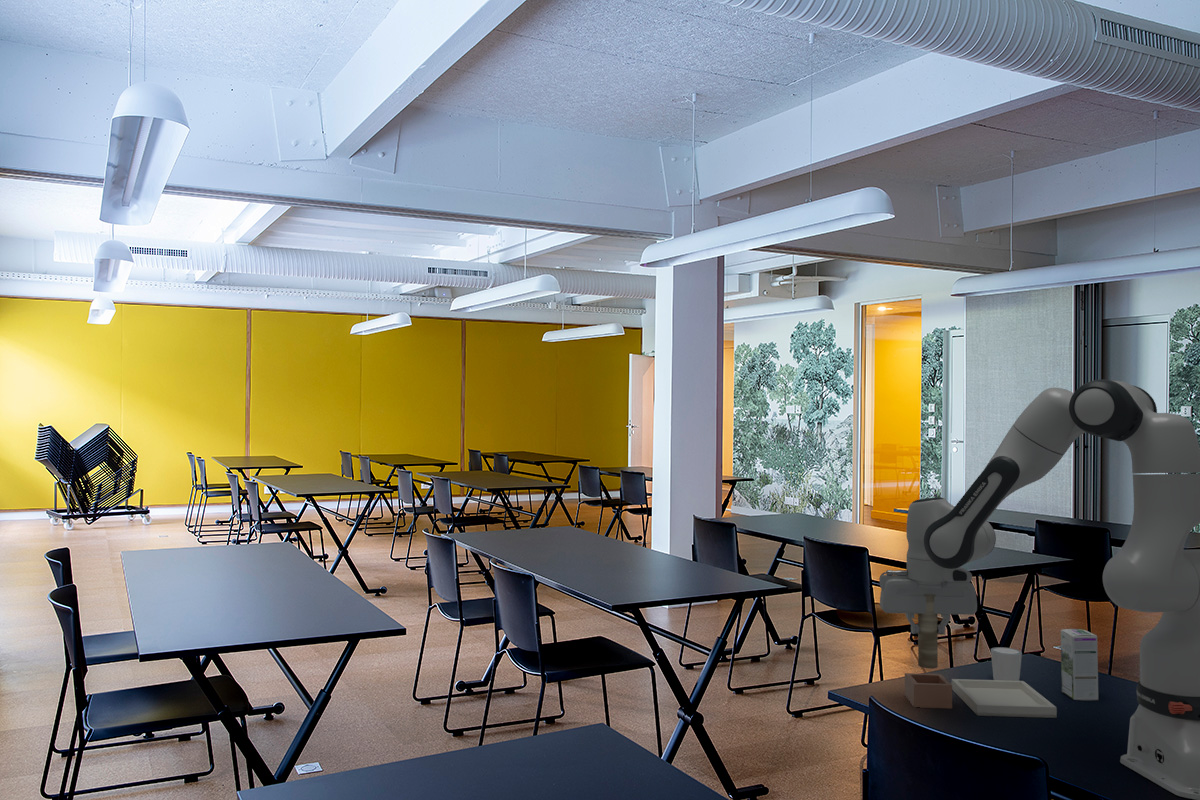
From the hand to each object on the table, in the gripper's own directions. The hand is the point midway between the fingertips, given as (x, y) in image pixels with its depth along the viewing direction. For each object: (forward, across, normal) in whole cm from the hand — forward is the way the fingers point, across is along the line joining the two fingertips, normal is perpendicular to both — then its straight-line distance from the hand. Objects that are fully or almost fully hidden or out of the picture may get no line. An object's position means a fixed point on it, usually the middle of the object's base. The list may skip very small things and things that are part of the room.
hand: (927, 633), depth 197 cm
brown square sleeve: (+15, 0, 0) cm, 15 cm away
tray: (+15, +16, +1) cm, 22 cm away
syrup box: (+15, +35, +7) cm, 39 cm away
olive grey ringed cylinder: (+7, 0, 0) cm, 7 cm away
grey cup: (+15, +23, +18) cm, 33 cm away
